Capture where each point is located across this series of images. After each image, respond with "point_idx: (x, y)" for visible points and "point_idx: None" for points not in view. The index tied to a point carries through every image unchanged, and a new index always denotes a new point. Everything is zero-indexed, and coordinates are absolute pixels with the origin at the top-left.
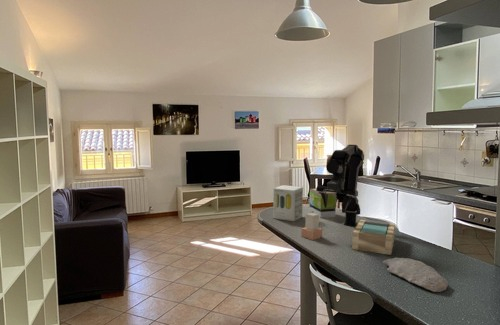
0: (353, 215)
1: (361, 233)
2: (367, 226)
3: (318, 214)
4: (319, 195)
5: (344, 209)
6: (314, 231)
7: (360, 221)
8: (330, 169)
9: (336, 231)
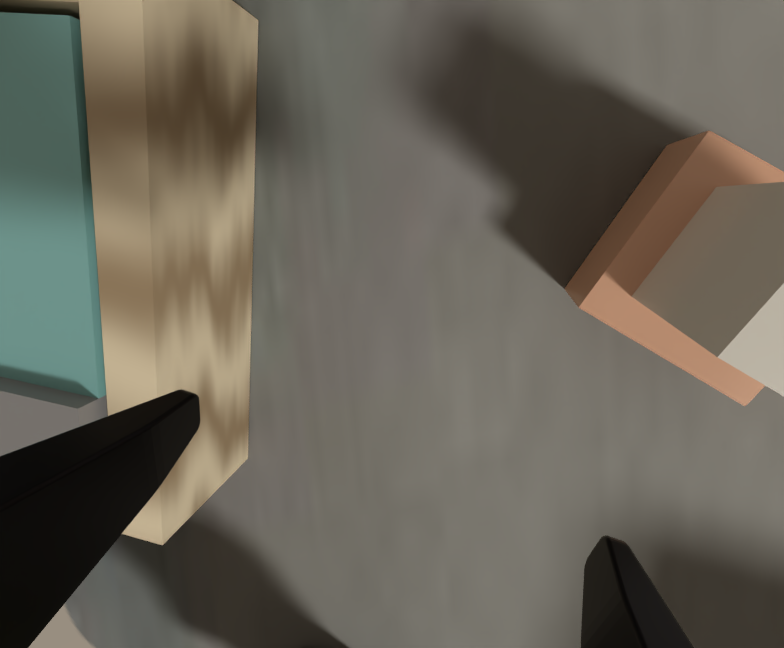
0: None
1: None
2: (54, 290)
3: (728, 342)
4: None
5: (170, 396)
6: (686, 158)
7: None
8: None
9: (435, 497)
